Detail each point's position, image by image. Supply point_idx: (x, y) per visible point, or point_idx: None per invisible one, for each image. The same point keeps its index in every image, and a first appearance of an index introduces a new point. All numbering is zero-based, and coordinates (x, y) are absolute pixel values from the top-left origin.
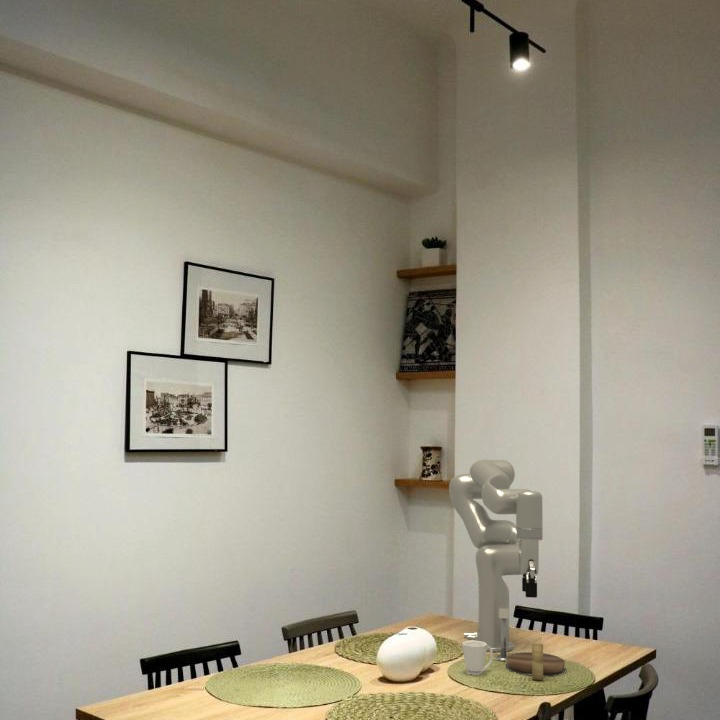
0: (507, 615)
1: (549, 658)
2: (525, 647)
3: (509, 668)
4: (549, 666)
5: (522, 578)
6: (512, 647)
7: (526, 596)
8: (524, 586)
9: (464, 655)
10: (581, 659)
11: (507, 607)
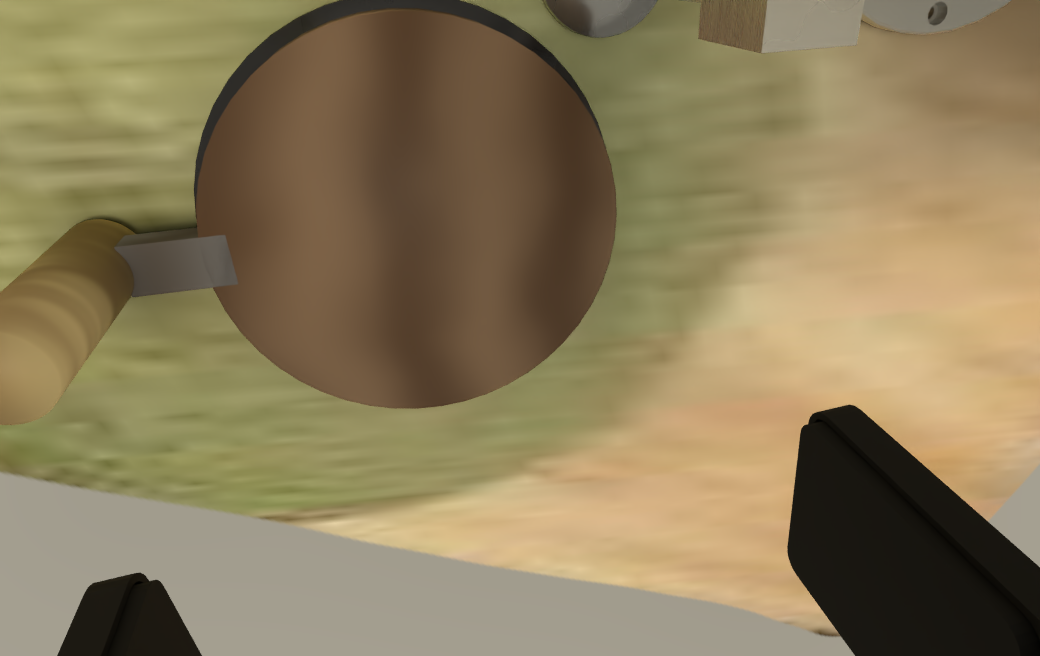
0: (718, 26)
1: (474, 321)
2: (941, 112)
3: (300, 31)
4: (253, 339)
5: (1034, 621)
6: (876, 24)
7: (100, 594)
8: (856, 507)
9: None
10: (691, 430)
11: (859, 27)
